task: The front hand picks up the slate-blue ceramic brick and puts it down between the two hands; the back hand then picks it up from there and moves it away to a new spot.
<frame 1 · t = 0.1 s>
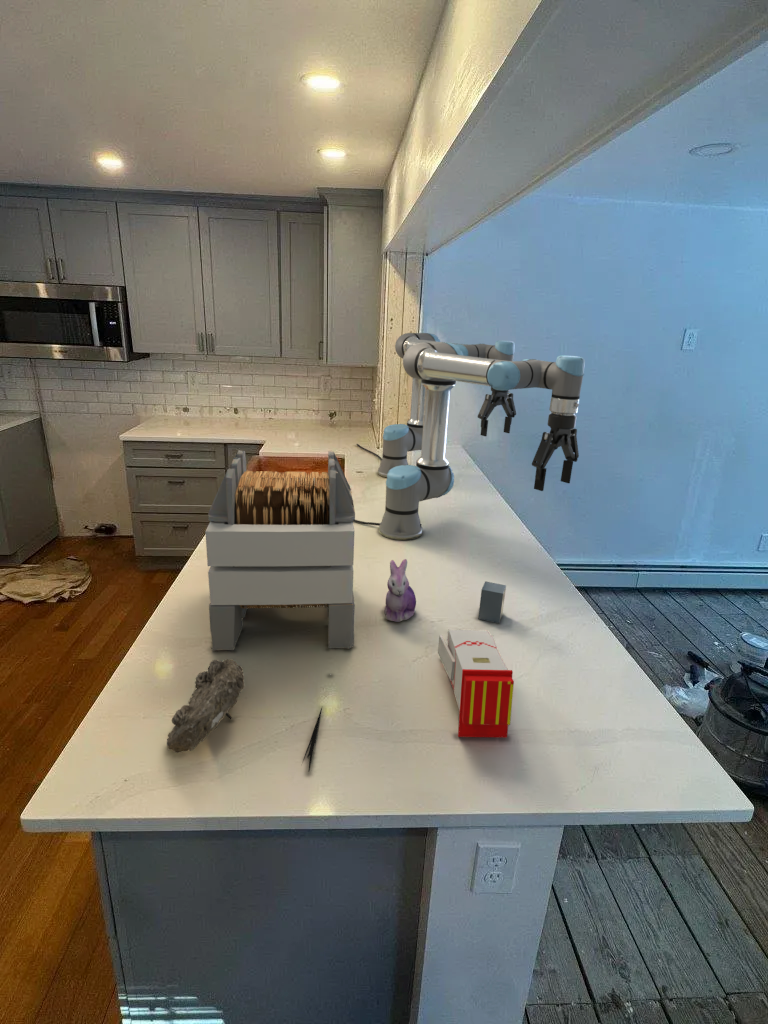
front hand: (552, 486, 165), 28 cm above the counter, tool pointing down, fingers open, 13 cm apart
back hand: (495, 434, 232), 28 cm above the counter, tool pointing down, fingers open, 13 cm apart
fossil: (212, 717, 108), on the counter
transformer: (286, 614, 145), on the counter
toy: (469, 691, 119), on the counter
brick: (490, 616, 148), on the counter
feather: (319, 719, 109), on the counter
figurine: (399, 614, 147), on the counter
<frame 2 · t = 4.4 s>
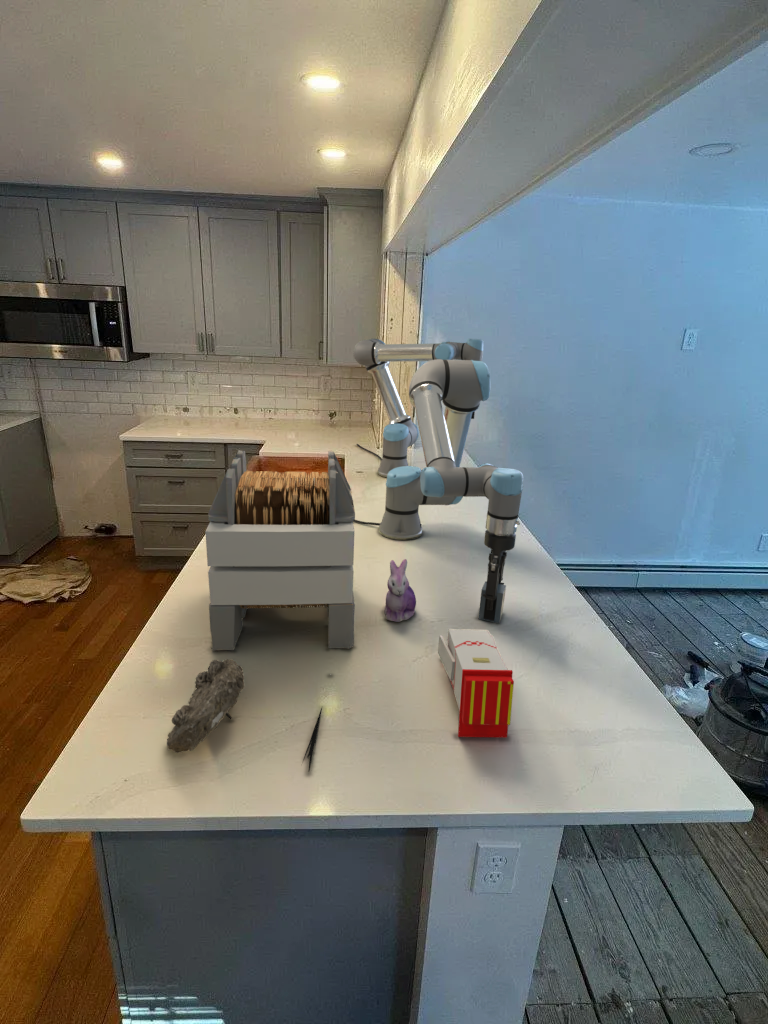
front hand: (490, 613, 148), 1 cm above the counter, tool pointing down, fingers closed on brick, 5 cm apart
back hand: (468, 420, 264), 27 cm above the counter, tool pointing down, fingers open, 13 cm apart
brick: (490, 616, 148), on the counter, touching front hand
everything else where it was.
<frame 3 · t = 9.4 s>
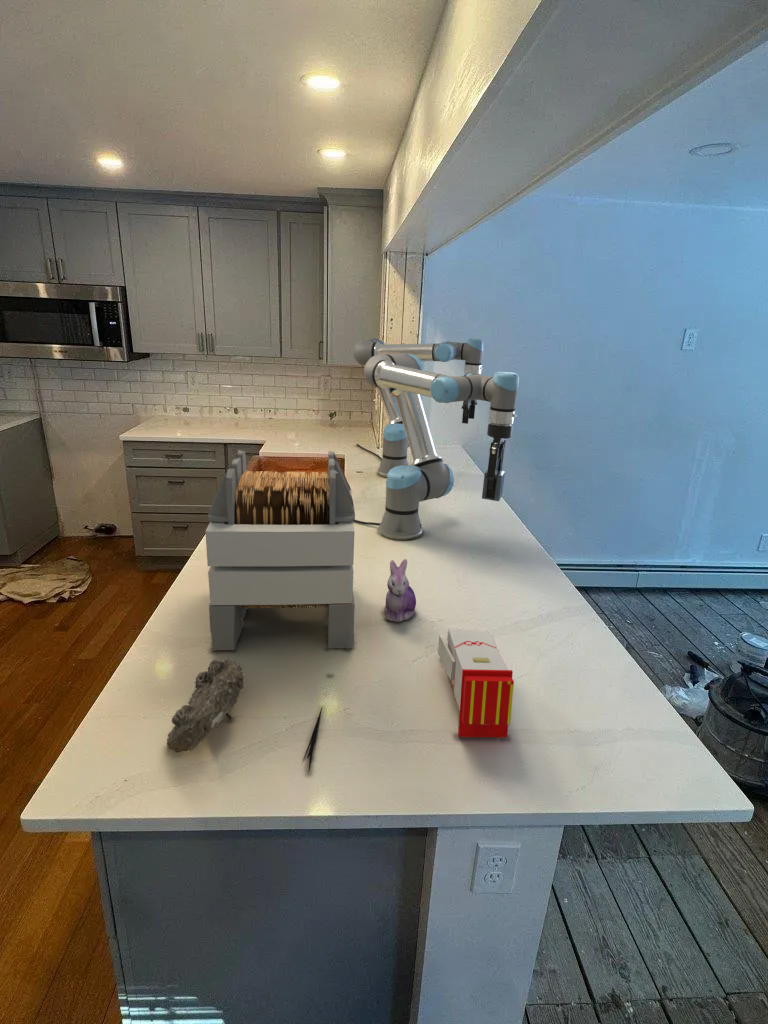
front hand: (491, 495, 182), 20 cm above the counter, tool pointing down, fingers closed on brick, 5 cm apart
back hand: (468, 420, 264), 27 cm above the counter, tool pointing down, fingers open, 13 cm apart
brick: (491, 497, 183), point 19 cm above the counter, touching front hand
everything else where it was.
when the front hand's fingers open (3 cm above the counter, at t = 14.8 s): brick drops 2 cm, on the counter.
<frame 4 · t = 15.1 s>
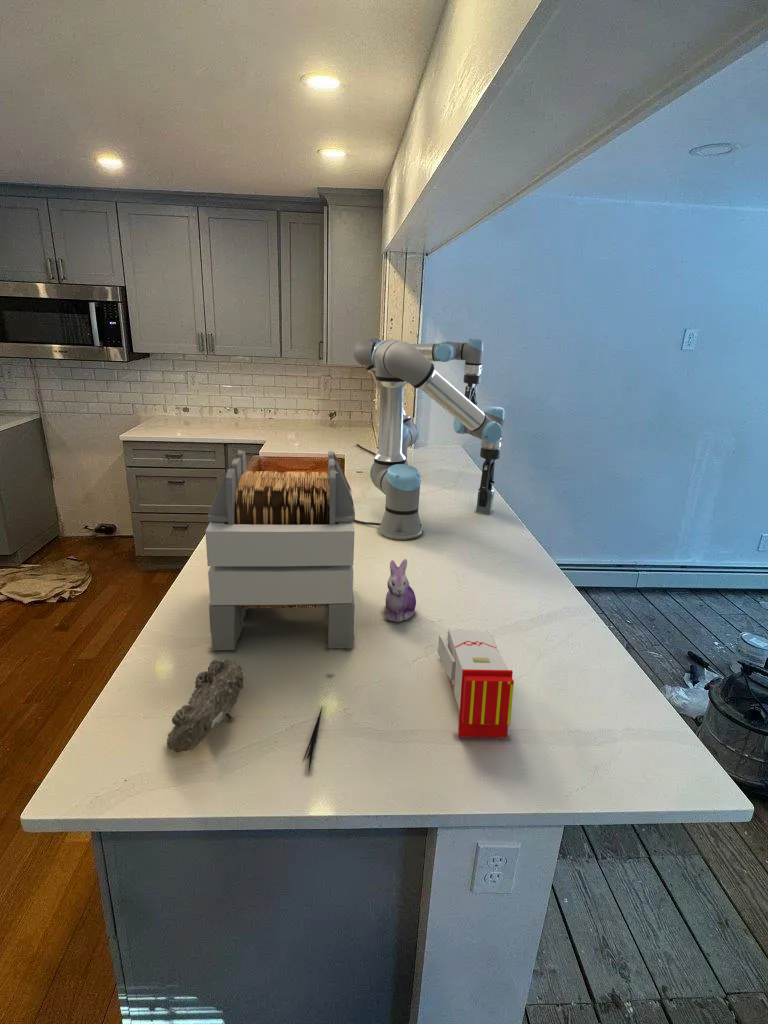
front hand: (484, 502, 225), 4 cm above the counter, tool pointing down, fingers open, 9 cm apart
back hand: (468, 420, 264), 27 cm above the counter, tool pointing down, fingers open, 13 cm apart
brick: (484, 511, 226), on the counter
everything else where it was.
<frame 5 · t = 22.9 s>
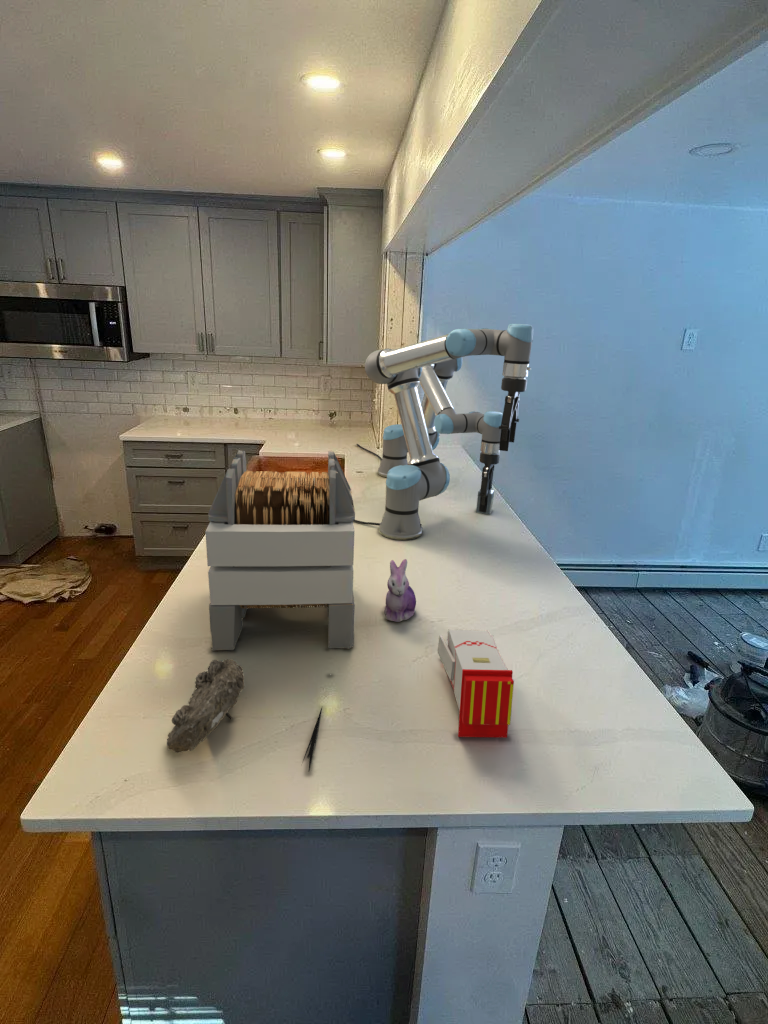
front hand: (506, 446, 179), 35 cm above the counter, tool pointing down, fingers open, 13 cm apart
back hand: (483, 509, 226), 1 cm above the counter, tool pointing down, fingers closed on brick, 5 cm apart
brick: (484, 511, 226), on the counter, touching back hand
everything else where it was.
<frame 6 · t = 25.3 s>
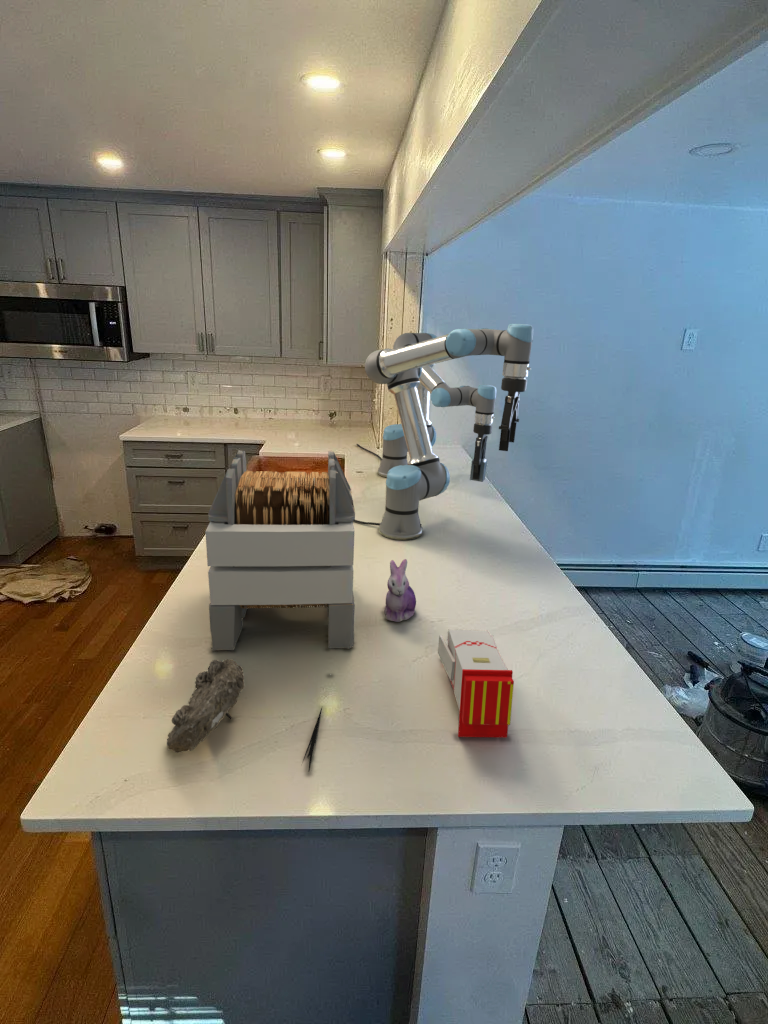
front hand: (506, 446, 179), 35 cm above the counter, tool pointing down, fingers open, 13 cm apart
back hand: (477, 477, 242), 8 cm above the counter, tool pointing down, fingers closed on brick, 5 cm apart
brick: (477, 479, 242), point 8 cm above the counter, touching back hand
everything else where it was.
when the back hand's fingers open (3 cm above the counter, at t = 27.7 s): brick drops 2 cm, on the counter.
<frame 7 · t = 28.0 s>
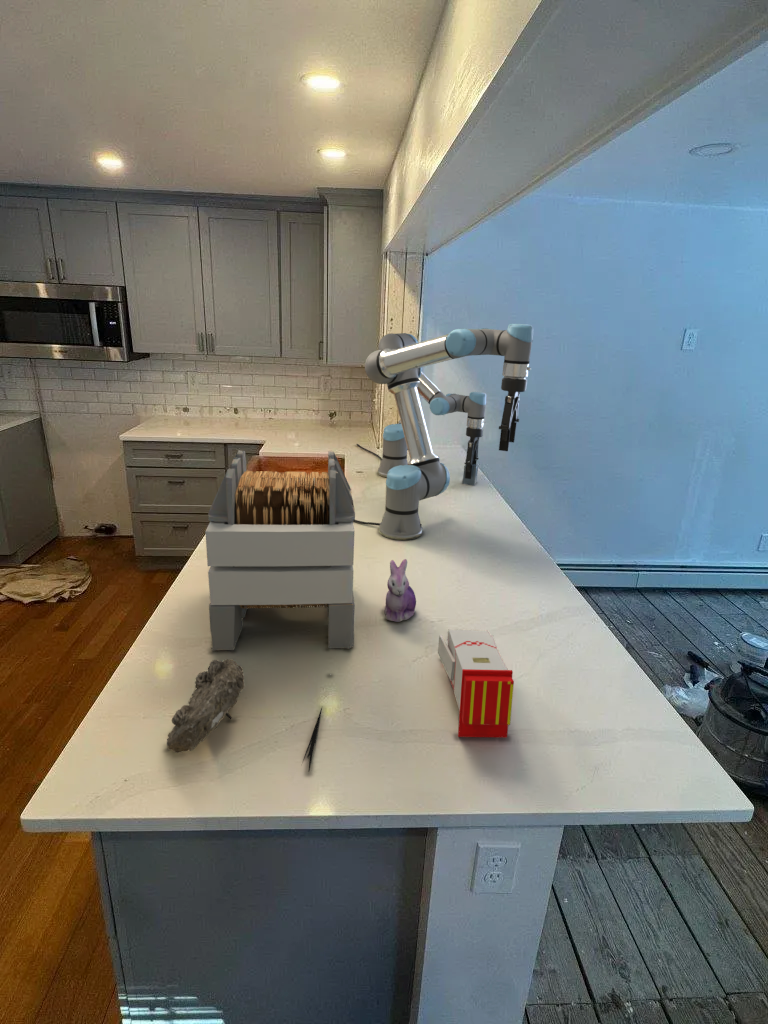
front hand: (506, 446, 179), 35 cm above the counter, tool pointing down, fingers open, 13 cm apart
back hand: (470, 475, 262), 4 cm above the counter, tool pointing down, fingers open, 9 cm apart
brick: (469, 483, 263), on the counter
everything else where it was.
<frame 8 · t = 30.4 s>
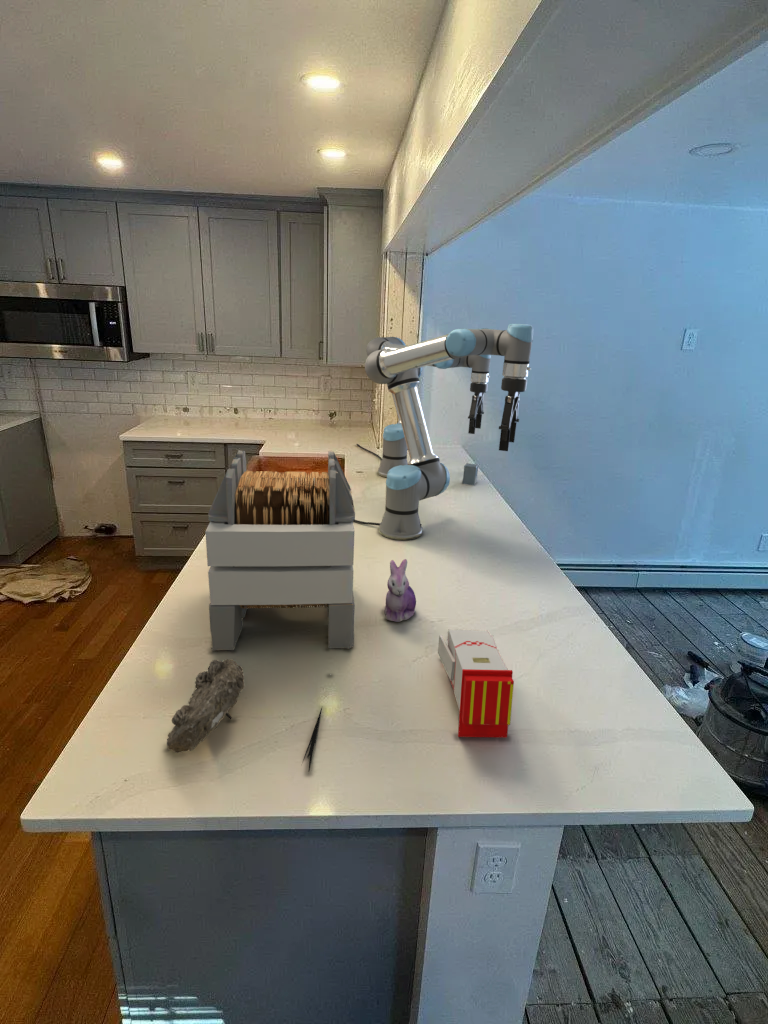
front hand: (506, 446, 179), 35 cm above the counter, tool pointing down, fingers open, 13 cm apart
back hand: (474, 430, 255), 24 cm above the counter, tool pointing down, fingers open, 13 cm apart
nothing on the counter moved.
at the end: brick inside the target area (0.1 cm from its centre), on the counter; brick tilted 0°; the two hands never held the brick at the same time; the front hand is holding nothing; the back hand is holding nothing; brick at rest at the end (0.0 cm/s) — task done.
